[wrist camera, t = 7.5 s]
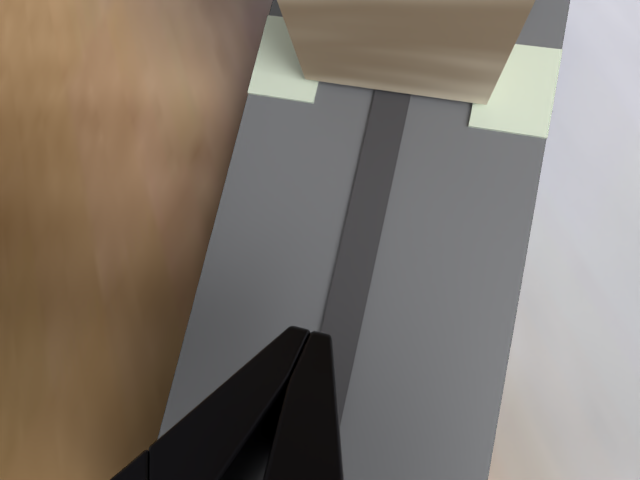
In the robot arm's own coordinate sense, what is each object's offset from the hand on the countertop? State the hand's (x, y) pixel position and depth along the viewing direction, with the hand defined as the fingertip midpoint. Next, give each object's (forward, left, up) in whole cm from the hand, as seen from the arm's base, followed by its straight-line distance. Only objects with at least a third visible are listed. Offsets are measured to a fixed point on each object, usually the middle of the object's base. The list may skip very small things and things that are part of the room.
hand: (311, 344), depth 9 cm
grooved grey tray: (+1, +2, -7) cm, 8 cm away
